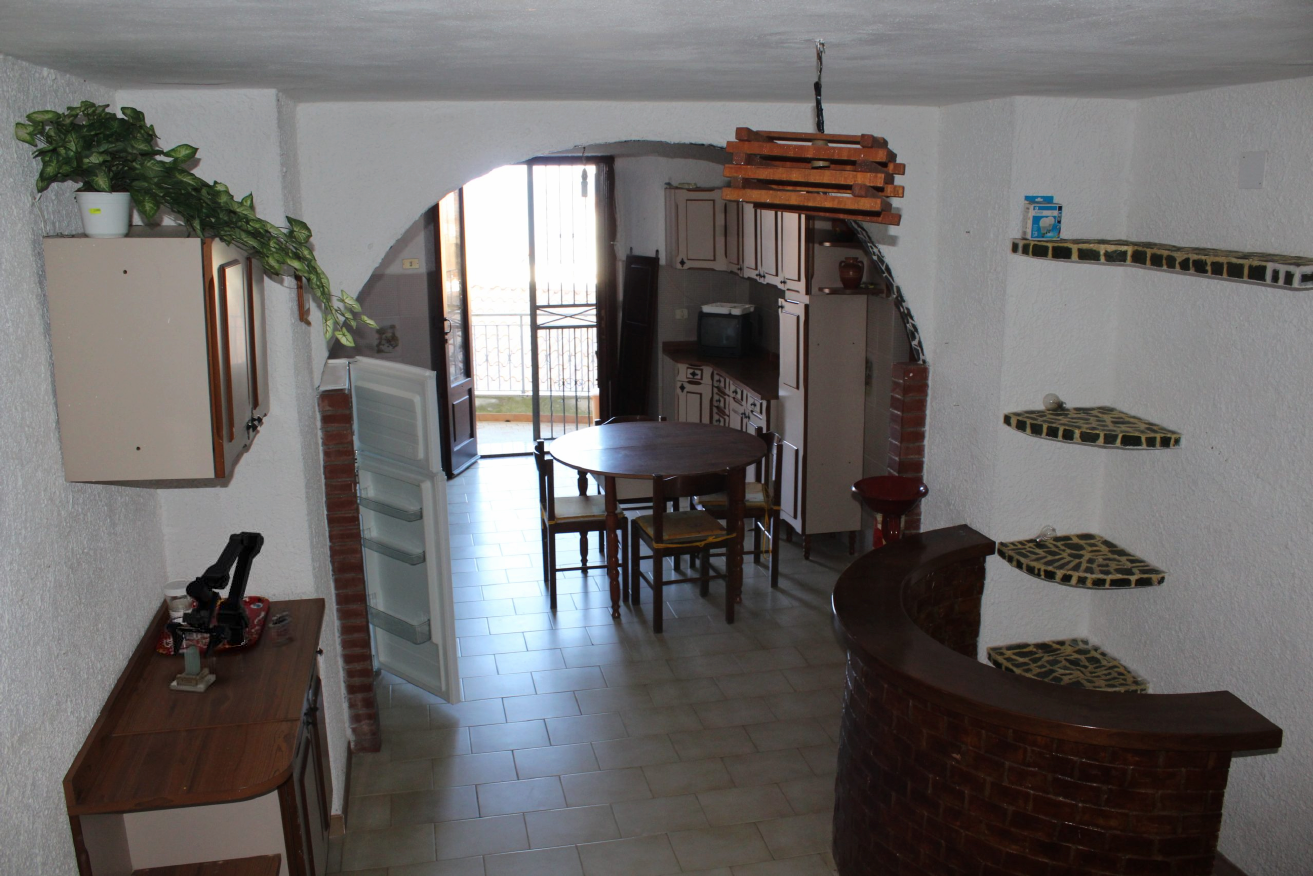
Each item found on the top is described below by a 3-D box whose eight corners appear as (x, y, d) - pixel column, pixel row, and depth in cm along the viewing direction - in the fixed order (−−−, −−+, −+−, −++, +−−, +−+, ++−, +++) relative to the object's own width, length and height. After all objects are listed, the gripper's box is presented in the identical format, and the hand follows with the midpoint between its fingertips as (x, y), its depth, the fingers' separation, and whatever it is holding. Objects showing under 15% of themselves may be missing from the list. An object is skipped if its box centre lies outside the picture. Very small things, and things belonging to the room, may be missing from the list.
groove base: (184, 676, 314) (183, 663, 313) (215, 679, 313) (214, 665, 312) (170, 689, 306) (169, 675, 305) (202, 691, 306) (201, 678, 305)
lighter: (274, 648, 335) (272, 620, 332) (267, 645, 337) (266, 617, 334) (294, 639, 341) (293, 612, 339) (288, 636, 343) (286, 609, 341)
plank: (193, 675, 312) (191, 646, 309) (200, 676, 312) (198, 646, 309) (186, 681, 308) (184, 652, 305) (194, 682, 308) (191, 652, 305)
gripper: (165, 597, 308) (148, 646, 300) (224, 602, 307) (209, 651, 299) (180, 610, 318) (164, 658, 310) (238, 614, 317) (223, 663, 309)
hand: (189, 657), depth 307 cm, fingers open, 9 cm apart
